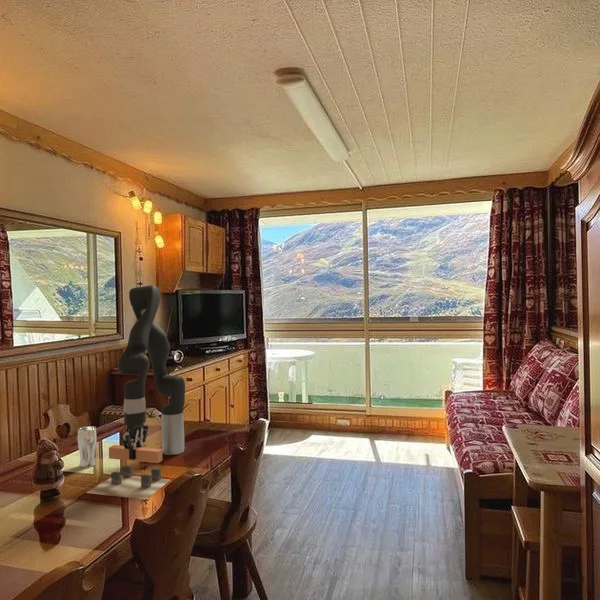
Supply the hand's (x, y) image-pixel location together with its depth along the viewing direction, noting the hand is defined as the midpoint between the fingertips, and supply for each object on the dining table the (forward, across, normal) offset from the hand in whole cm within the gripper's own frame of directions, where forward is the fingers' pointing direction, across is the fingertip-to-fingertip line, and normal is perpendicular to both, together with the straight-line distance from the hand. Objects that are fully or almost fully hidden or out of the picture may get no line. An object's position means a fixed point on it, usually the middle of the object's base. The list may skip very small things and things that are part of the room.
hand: (135, 457), depth 170 cm
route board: (+10, +4, 0) cm, 11 cm away
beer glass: (+10, -13, -31) cm, 35 cm away
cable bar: (+1, 0, 0) cm, 1 cm away
